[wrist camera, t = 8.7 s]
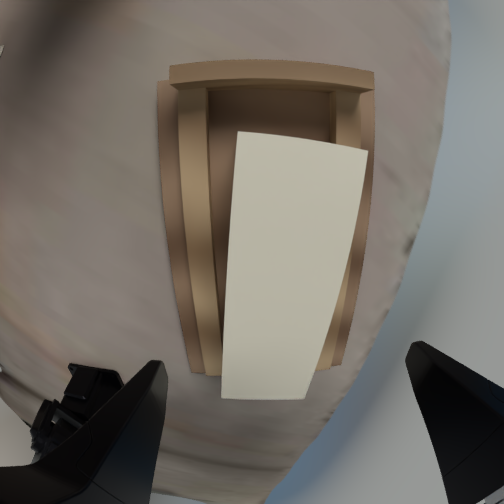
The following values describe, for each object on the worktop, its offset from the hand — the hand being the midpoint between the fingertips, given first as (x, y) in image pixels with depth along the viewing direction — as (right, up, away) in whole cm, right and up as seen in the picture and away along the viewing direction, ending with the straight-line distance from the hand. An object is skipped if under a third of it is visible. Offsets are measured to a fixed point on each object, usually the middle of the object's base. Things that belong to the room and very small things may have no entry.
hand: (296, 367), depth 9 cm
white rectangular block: (0, +4, +9) cm, 10 cm away
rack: (0, +4, +10) cm, 11 cm away
